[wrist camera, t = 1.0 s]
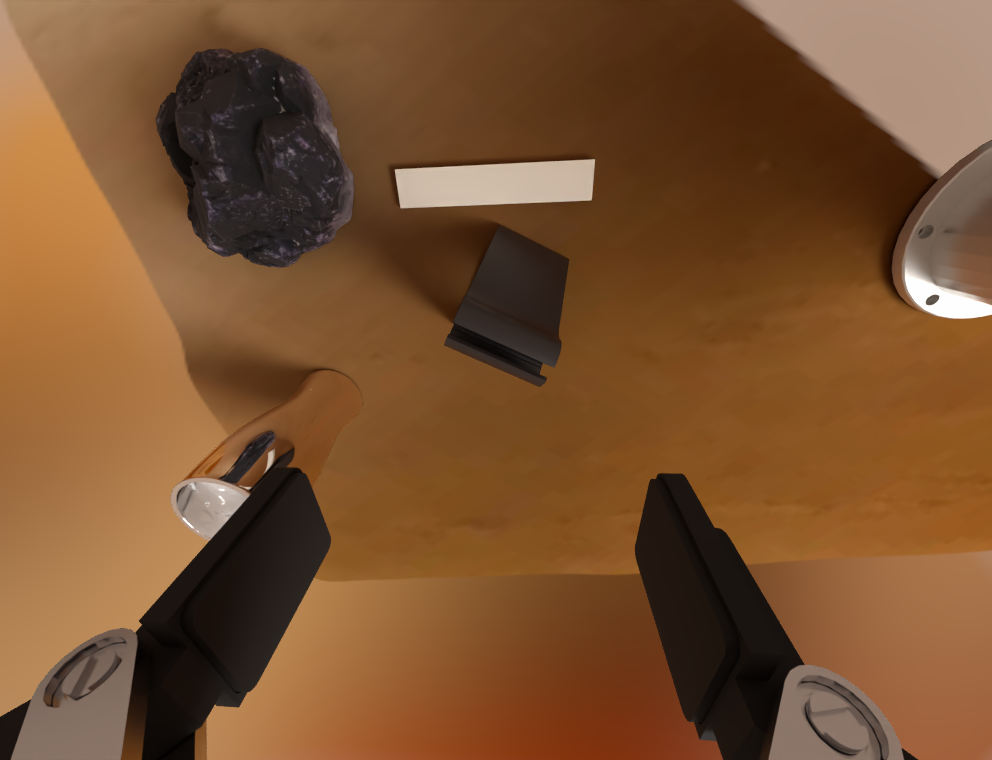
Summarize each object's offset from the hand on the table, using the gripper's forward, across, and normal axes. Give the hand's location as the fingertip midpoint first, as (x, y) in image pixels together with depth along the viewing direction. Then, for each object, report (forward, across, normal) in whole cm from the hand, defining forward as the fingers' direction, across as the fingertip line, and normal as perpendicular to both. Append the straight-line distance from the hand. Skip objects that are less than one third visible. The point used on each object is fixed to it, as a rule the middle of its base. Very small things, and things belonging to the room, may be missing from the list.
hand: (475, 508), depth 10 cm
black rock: (+23, +17, -10) cm, 30 cm away
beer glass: (+23, +18, +10) cm, 31 cm away
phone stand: (+23, 0, 0) cm, 23 cm away
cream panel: (+23, +1, -8) cm, 24 cm away
